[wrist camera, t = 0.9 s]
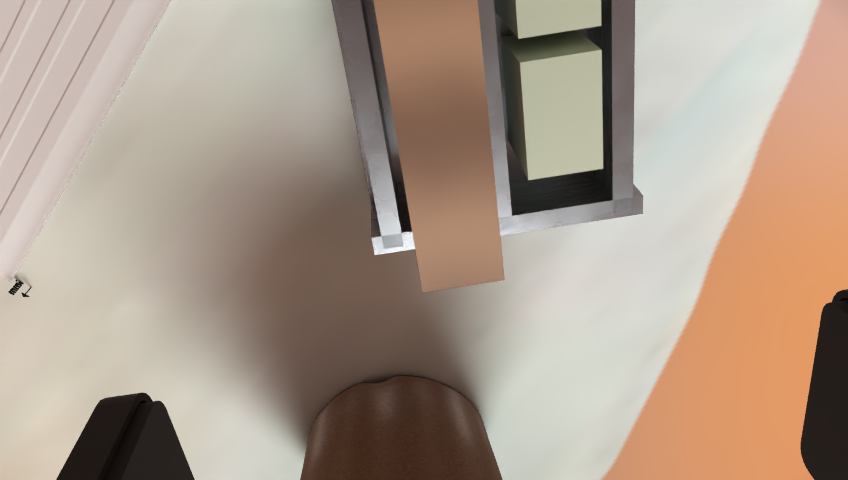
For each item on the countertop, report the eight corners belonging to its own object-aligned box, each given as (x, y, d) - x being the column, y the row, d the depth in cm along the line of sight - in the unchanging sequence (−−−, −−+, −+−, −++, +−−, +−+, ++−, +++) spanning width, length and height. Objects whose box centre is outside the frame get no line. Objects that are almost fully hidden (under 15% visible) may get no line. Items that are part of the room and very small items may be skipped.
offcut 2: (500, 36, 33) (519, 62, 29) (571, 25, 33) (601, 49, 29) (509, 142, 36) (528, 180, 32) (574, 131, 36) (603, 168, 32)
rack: (300, -168, 30) (288, -174, 25) (609, -217, 30) (650, -232, 25) (374, 211, 39) (374, 255, 34) (611, 174, 39) (642, 213, 34)
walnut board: (365, -92, 30) (362, -67, 19) (432, -103, 30) (469, -84, 19) (405, 158, 36) (422, 292, 25) (462, 149, 36) (504, 279, 25)
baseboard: (339, -213, 30) (69, -448, 26) (335, -221, 27) (35, -483, 23) (42, 287, 40) (-181, 176, 36) (20, 315, 38) (-223, 199, 34)
